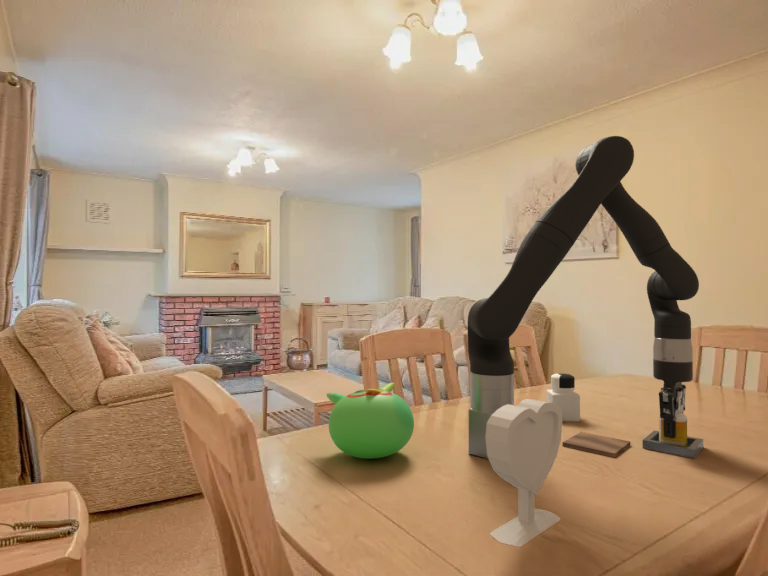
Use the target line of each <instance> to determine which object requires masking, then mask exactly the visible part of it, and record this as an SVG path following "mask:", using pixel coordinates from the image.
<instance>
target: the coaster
mask: <svg viewBox="0 0 768 576" xmlns="http://www.w3.org/2000/svg"><path fill="white" fill-rule="evenodd" d="M562 446H563V447H565V448H571V449H575V450H579V451H584V452H589V453H593V454H597V455H601V456H606V457H611V458H616V457H617V456H618V455H620V454H621V453H622V452H624V451H625V450H626V449H628V448H629V447H630V446H631V441H629V440H625V439H620V438H614V437H609V436H603V435H598V434H595V433H590V432H589V433H588V432H583V431H580V432H578V433H576V434H575V435H573V436H571V437H569V438H568V439H566V440H564V441H562Z"/></svg>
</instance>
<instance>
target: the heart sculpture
mask: <svg viewBox="0 0 768 576" xmlns="http://www.w3.org/2000/svg"><path fill="white" fill-rule="evenodd" d="M562 428H563V421H562V412H561V409H560V407H559V406H558V405H556V404H554V403H549V402H547V401H543V400H538V399H533V398H526V399H525V398H524V399H522V400H521V401H520V402H519V403H518V405H515V404H514V405H509V404H507V405H504V406H502V407H501V408H499V409H498V410H496V411H495V412H494V413H493V414H492V415H491V416H490V418H489V420H488V422H487V426H486V437H485V438H486V448H487V456H488V461H489V463H490V465H491V468H492V470H493V471H494V473H496V475H498V477H500V478H501V479H502V480H503V481H505V482H507V483H509V484H511V486H512V487H515V488H516V489H517V512H518V513H517V516H515V517H514V518H512V519H510V520H508V521H507V522H505V523H503V524H502V525H500V526H499V527H497V528H494V530H492V531H490V532H489V535H491V537H492V538H494V540H496V541H497V542H499V543H502V544H504V545H509V546H514V547H523V546H524V545H525V544H527V543H528V542H530V541H531V540H532V539H534V538H535V537H537V536H538V535H540V534H541V533H543V532H544V531H546V530H547V529H549V528H551V527H552V526H553V525H554V524H556V523H557V522H559V521H560V520H561V518H560V517H559V515H557V514H555V513H553V512H551V511H549V510H546V509H540V508H535V495H536V496H537V495H538V493H539V492H540V490H541V488H542V485H544V483H545V481H546V479H547V478H548V475H549V474H550V472H551V470H552V467H553V466H554V464H555V461H556V459H557V455H558V454H559V453H558V452H559V448H560V445H561V440H562V432H563V431H562V430H563V429H562Z"/></svg>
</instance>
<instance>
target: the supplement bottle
mask: <svg viewBox="0 0 768 576" xmlns="http://www.w3.org/2000/svg"><path fill="white" fill-rule="evenodd" d="M674 406H675V405H674ZM682 412H684V411H683V405H682V404H680V410H679V411H677V415H676V418H677V420H676V437H675V438H668V437H665V436H664V420H663V419H662V418H660V413H659V415H658V431H659V440H658V441H659V442H664V443H669V444H675V445H680V446H685V447H688V446H687V436H688V418H687V416H686V415H685V414H682ZM666 413H668V414H670V410H667V411H666Z"/></svg>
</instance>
